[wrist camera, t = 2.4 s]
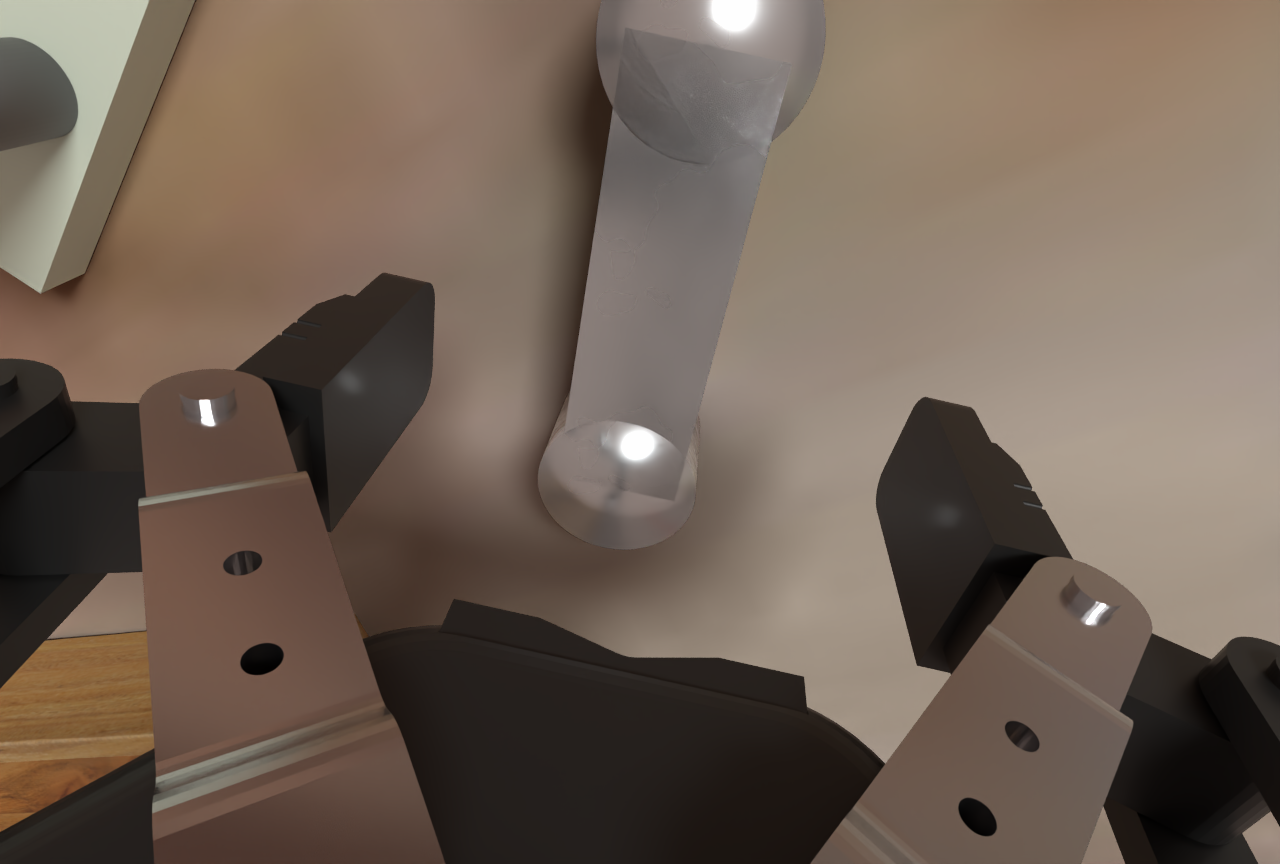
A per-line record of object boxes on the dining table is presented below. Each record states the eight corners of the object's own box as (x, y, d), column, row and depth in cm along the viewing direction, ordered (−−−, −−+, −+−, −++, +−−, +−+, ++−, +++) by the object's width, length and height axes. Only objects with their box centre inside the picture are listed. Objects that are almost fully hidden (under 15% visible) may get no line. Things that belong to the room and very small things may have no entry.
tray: (361, 602, 26) (280, 741, 22) (489, 832, 34) (450, 972, 29) (-253, 651, 32) (-424, 768, 27) (-26, 837, 40) (-128, 954, 35)
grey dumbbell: (683, 495, 22) (677, 563, 19) (553, 467, 22) (530, 532, 19) (835, -59, 14) (859, -67, 12) (635, -103, 14) (615, -121, 11)
